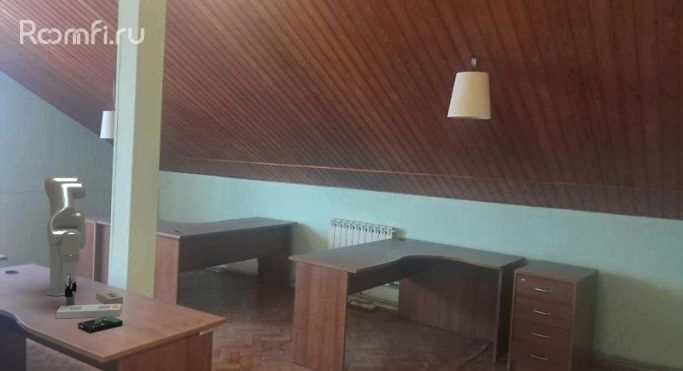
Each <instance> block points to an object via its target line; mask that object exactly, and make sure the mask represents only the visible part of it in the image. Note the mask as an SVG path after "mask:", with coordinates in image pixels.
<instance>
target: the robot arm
mask: <svg viewBox="0 0 683 371" xmlns="http://www.w3.org/2000/svg"><path fill="white" fill-rule="evenodd" d="M44 191H45V194H46V196H47V199H48V201H49V210H50V211H49V212H50V213H49V215H50V217H49V219H48V220H47V224H46V233H47V237H46V238H47V242H48V248H49V289H48V290H47V291H46V295H47V296H50V297H51V296H52V297H61V296H64V298H66V297H72V296H73V291H75V293H76V292H77V279H78V262H80V254H81V253H80V250H83V249H85V248H86V244H87V236H86V235H87V232H86V219H85V218H86V217H85V214H84V212H83V211H81V210H76V206H75V200H79V199H80V200H81V199H83V200H84V199H85V197H87V188H86V183H85V182H84V180H83V179H82V177H80V176H75V175H73V176H69V175H68V176H67V175H64V176H63V175H62V176H61V175H58V176H50V177H47V178H46V179H45V180H44Z"/></svg>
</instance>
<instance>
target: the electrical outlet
mask: <svg viewBox="0 0 683 371" xmlns="http://www.w3.org/2000/svg"><path fill="white" fill-rule="evenodd" d="M95 293H96V295H95V296H96V299H97V300H98V301H100V302H101V303H102V302H103V303H102V304H122V305H123V304H124V299H123V298H124V297H123V296H122V295H120V294H119V293H118V292H116V291H112V290H105V291H98V292H97V291H96V292H95Z"/></svg>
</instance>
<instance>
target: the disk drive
mask: <svg viewBox="0 0 683 371" xmlns="http://www.w3.org/2000/svg"><path fill="white" fill-rule="evenodd" d="M123 324H124V322H123V320H122V319H120V318H116V317H114V316H113V317H112V316H110V317H98V318H95V319H91V320H85V321H81V322H78V323H77V328H78V329H79V330H82V331H84V332H85V333H88V334H93V333H97V332H101V331H106V330H110V329H114V328H118V327H122V326H123Z"/></svg>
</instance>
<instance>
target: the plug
mask: <svg viewBox="0 0 683 371" xmlns="http://www.w3.org/2000/svg"><path fill="white" fill-rule="evenodd" d="M75 294H76V292H75V291H73V296H72V297H65V302H66V303H65V306H70V305H75V303H76V302H75V301H76V300H75V299H76V297H75Z"/></svg>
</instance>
